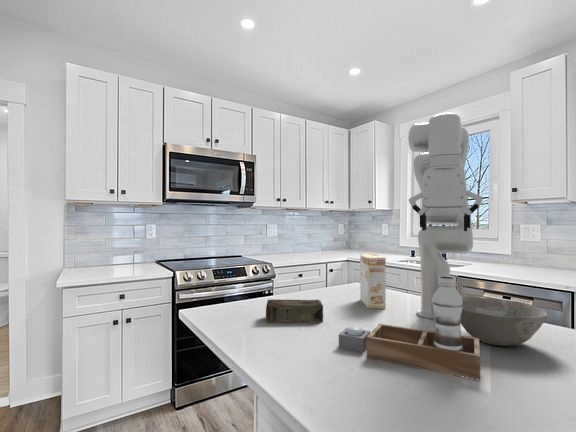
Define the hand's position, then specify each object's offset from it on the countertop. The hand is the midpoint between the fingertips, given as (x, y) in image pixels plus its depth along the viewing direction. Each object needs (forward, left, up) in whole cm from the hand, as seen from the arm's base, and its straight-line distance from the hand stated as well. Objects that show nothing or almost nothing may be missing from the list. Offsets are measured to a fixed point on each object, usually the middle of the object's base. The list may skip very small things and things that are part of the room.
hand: (444, 230), depth 86 cm
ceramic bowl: (-15, +12, -31) cm, 36 cm away
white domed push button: (+7, -21, -29) cm, 37 cm away
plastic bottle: (+7, +1, -31) cm, 32 cm away
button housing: (+7, -21, -31) cm, 38 cm away
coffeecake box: (-41, -29, -31) cm, 59 cm away
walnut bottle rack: (+7, -4, -31) cm, 32 cm away
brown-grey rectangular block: (-6, -47, -31) cm, 57 cm away
